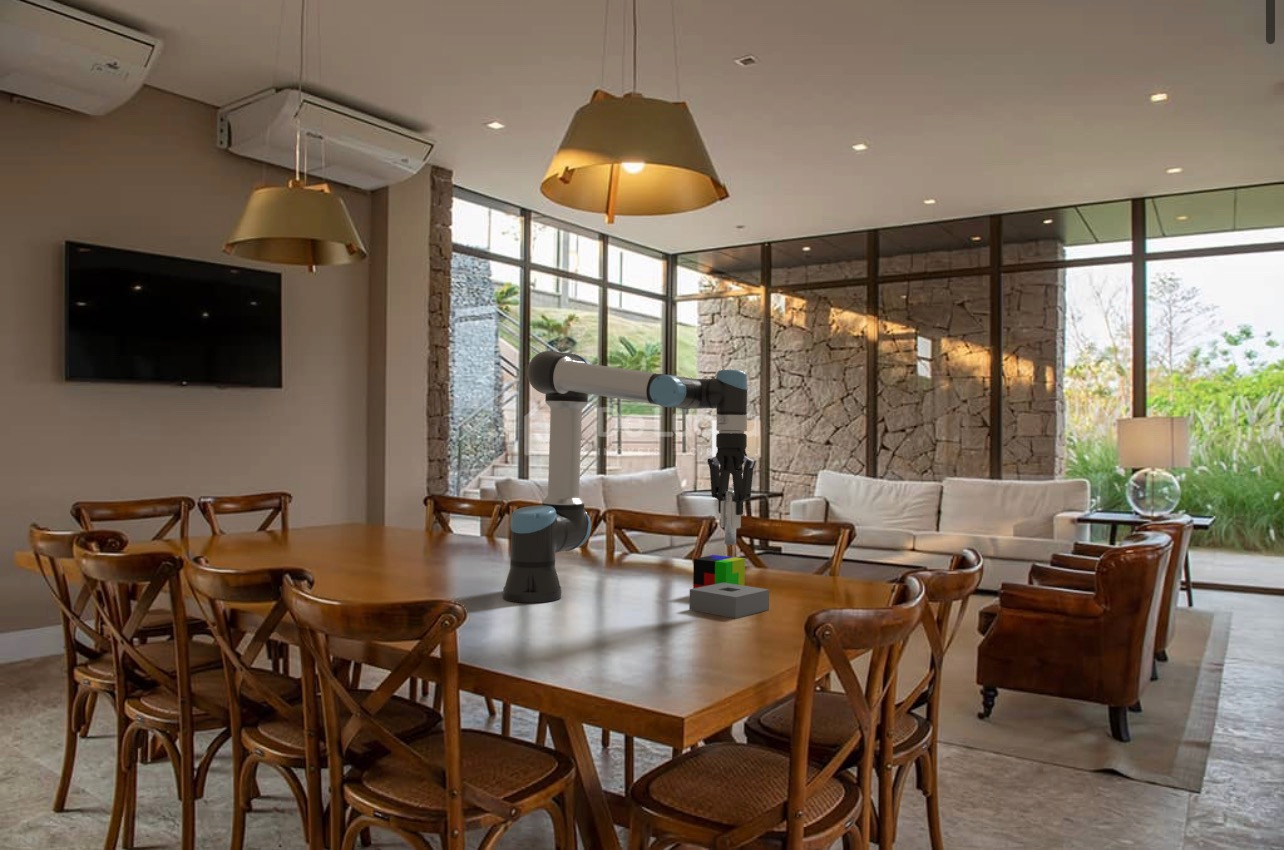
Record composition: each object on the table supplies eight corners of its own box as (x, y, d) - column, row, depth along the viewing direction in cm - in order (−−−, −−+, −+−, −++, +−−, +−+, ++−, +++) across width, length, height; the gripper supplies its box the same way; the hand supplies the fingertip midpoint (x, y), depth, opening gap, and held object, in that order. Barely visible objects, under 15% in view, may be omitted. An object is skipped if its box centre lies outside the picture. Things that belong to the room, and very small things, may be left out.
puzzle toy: (712, 591, 239) (713, 554, 239) (744, 595, 233) (744, 558, 234) (693, 596, 231) (693, 558, 231) (725, 601, 225) (726, 562, 225)
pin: (722, 544, 214) (722, 491, 214) (729, 543, 216) (729, 490, 216) (731, 545, 212) (732, 491, 212) (738, 544, 214) (738, 491, 214)
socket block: (689, 609, 213) (689, 589, 213) (723, 601, 224) (723, 582, 224) (735, 618, 204) (735, 597, 204) (769, 609, 214) (769, 589, 214)
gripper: (696, 432, 217) (695, 526, 217) (749, 432, 206) (748, 531, 206) (715, 432, 222) (714, 524, 222) (766, 432, 212) (765, 529, 211)
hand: (730, 527), depth 214 cm, fingers closed on pin, 3 cm apart
